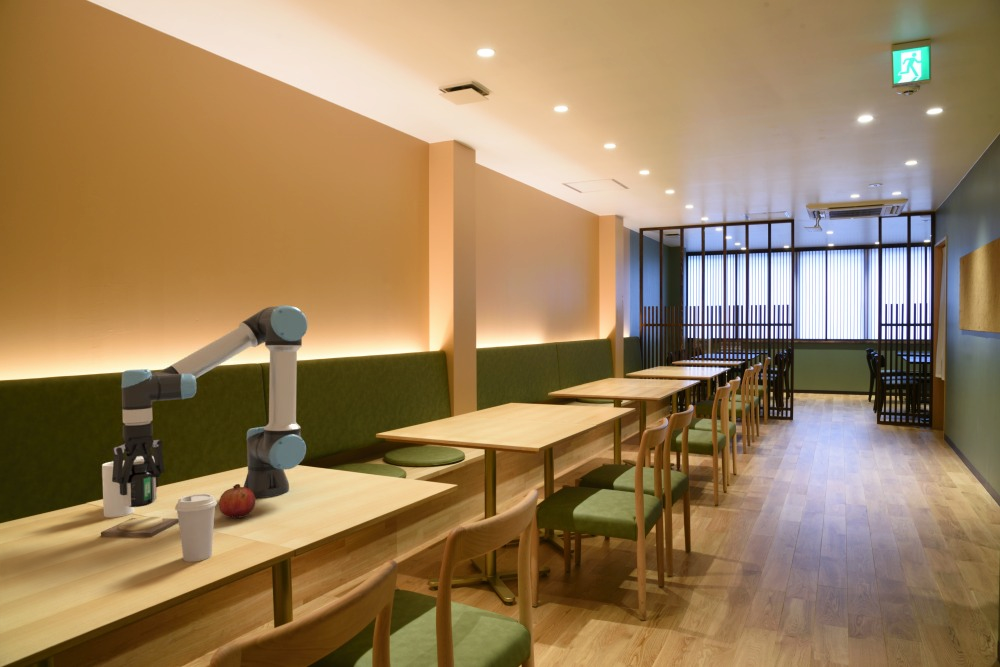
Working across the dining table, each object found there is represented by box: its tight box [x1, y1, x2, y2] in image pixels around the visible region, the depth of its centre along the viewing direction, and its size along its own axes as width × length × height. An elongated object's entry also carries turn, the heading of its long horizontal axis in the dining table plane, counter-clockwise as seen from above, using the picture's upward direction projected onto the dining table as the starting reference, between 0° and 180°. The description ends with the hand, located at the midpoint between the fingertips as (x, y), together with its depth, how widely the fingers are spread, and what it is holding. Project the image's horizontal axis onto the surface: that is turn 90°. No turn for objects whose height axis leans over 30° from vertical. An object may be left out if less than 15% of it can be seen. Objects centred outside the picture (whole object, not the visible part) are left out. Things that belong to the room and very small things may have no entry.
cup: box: [101, 459, 135, 518], centre depth 202 cm, size 8×8×16 cm
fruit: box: [218, 483, 256, 519], centre depth 195 cm, size 11×10×10 cm
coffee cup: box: [174, 493, 218, 563], centre depth 162 cm, size 10×10×15 cm
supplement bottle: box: [127, 461, 153, 508], centre depth 185 cm, size 7×7×12 cm
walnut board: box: [100, 516, 179, 538], centre depth 186 cm, size 15×13×2 cm
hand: (139, 502), depth 185 cm, fingers closed on supplement bottle, 7 cm apart
